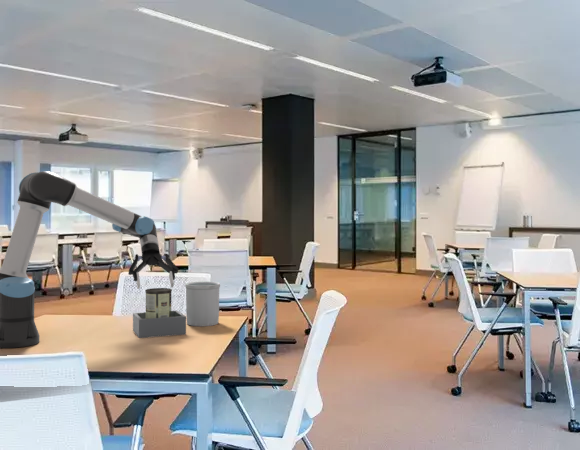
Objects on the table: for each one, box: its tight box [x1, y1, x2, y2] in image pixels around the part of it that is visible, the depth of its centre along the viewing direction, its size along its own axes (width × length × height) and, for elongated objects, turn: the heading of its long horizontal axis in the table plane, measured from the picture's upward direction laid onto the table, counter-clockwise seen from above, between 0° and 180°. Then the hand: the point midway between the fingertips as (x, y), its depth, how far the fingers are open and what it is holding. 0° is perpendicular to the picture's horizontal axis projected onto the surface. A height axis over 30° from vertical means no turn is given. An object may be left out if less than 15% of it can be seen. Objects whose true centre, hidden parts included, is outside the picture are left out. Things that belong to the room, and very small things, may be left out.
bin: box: [132, 310, 187, 339], centre depth 220 cm, size 18×16×7 cm
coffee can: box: [144, 287, 173, 319], centre depth 220 cm, size 10×10×14 cm
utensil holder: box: [185, 280, 221, 327], centre depth 240 cm, size 15×15×18 cm
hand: (155, 286), depth 226 cm, fingers open, 13 cm apart
